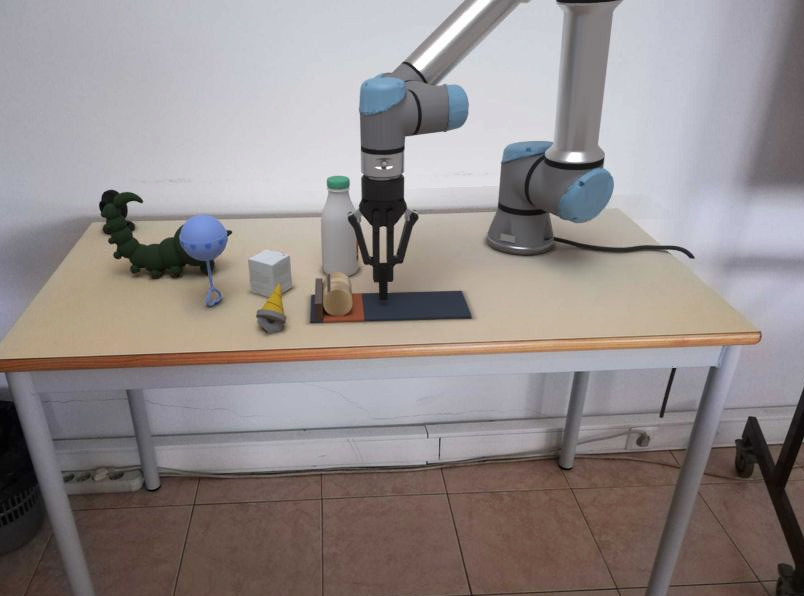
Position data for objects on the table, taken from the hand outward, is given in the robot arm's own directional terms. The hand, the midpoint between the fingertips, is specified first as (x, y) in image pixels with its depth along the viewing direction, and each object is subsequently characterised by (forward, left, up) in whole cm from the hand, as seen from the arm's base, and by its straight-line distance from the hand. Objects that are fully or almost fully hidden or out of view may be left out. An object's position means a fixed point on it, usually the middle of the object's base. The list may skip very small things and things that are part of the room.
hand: (383, 296), depth 130 cm
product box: (+22, -9, -2) cm, 24 cm away
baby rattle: (+33, -3, -2) cm, 33 cm away
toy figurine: (+43, -19, -2) cm, 47 cm away
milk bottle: (+8, -18, -2) cm, 20 cm away
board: (-1, 0, -2) cm, 2 cm away
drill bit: (+21, +6, -2) cm, 22 cm away
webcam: (+62, -46, -2) cm, 77 cm away
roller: (+9, 0, +1) cm, 9 cm away
